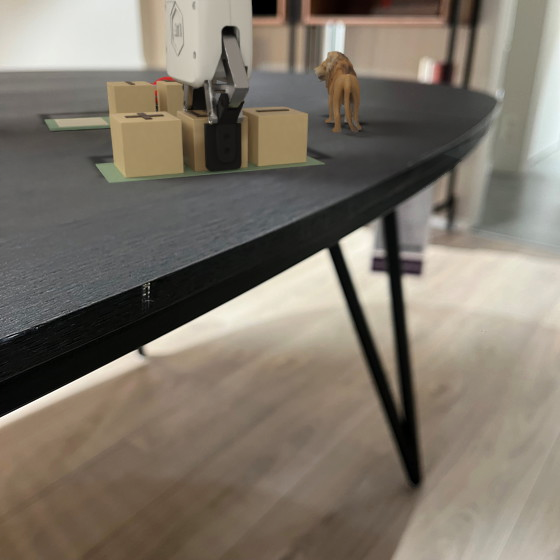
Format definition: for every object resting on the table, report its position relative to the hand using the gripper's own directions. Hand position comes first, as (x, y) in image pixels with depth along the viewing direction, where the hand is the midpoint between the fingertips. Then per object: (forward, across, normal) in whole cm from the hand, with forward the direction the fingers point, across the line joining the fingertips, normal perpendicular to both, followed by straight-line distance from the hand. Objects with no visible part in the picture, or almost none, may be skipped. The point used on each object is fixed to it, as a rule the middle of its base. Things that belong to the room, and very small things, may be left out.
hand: (212, 160), depth 53 cm
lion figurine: (+1, -16, +23) cm, 28 cm away
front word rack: (+1, 0, 0) cm, 1 cm away
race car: (+1, -43, +8) cm, 44 cm away
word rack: (+1, -27, -1) cm, 27 cm away
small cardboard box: (0, 0, 0) cm, 0 cm away
